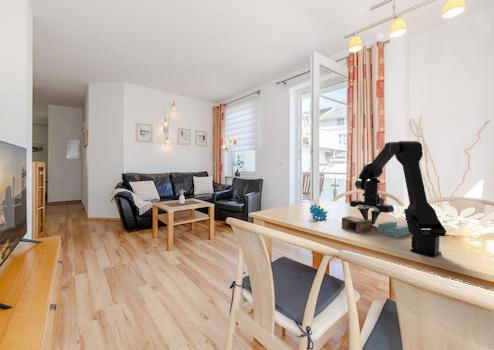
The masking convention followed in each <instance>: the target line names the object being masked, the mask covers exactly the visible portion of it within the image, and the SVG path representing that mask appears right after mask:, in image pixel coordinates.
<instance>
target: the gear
mask: <svg viewBox="0 0 494 350" xmlns="http://www.w3.org/2000/svg"><path fill="white" fill-rule="evenodd" d="M309 210H310V211H309V213H310V214H312V215H311V216H312V218H313V219H316V220H317V221H318V220H319V221H320V222H321V221H325V220H326V219H327V217H328V215H327V214H328V211H327V210H326V211H325V209H324V208H323V207H322V208H321V205H318V204H314V205H311V206H310V207H309Z"/></svg>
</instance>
